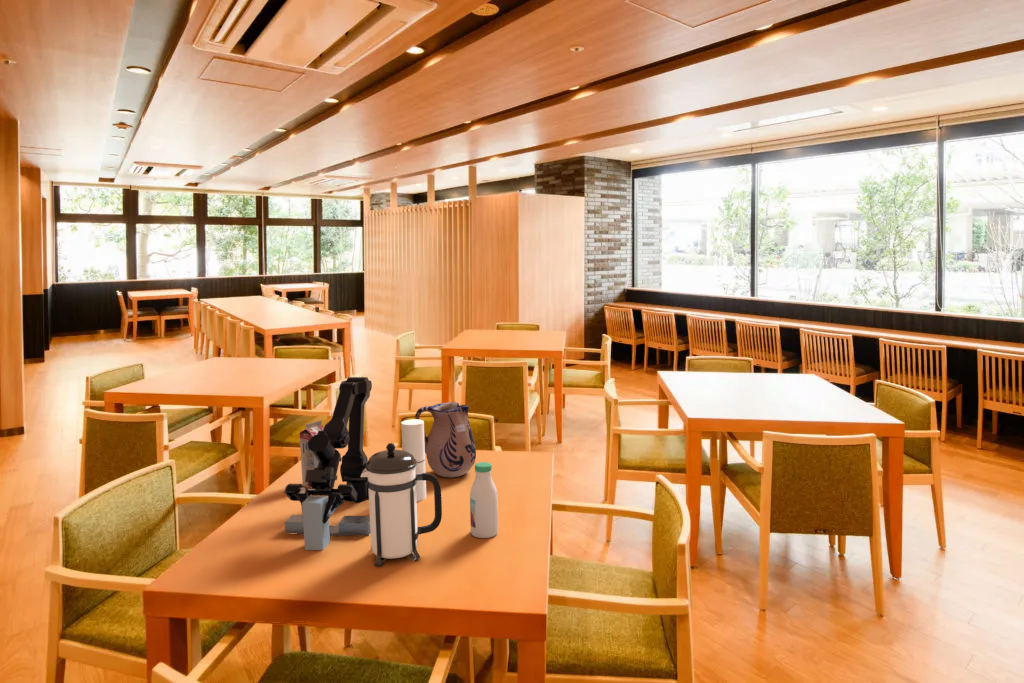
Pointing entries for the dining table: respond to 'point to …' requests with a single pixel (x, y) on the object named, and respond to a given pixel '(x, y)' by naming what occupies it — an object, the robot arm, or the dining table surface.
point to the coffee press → (396, 504)
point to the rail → (346, 526)
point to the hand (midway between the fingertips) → (314, 522)
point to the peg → (315, 523)
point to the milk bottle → (483, 503)
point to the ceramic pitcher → (449, 439)
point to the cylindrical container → (415, 450)
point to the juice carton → (306, 455)
